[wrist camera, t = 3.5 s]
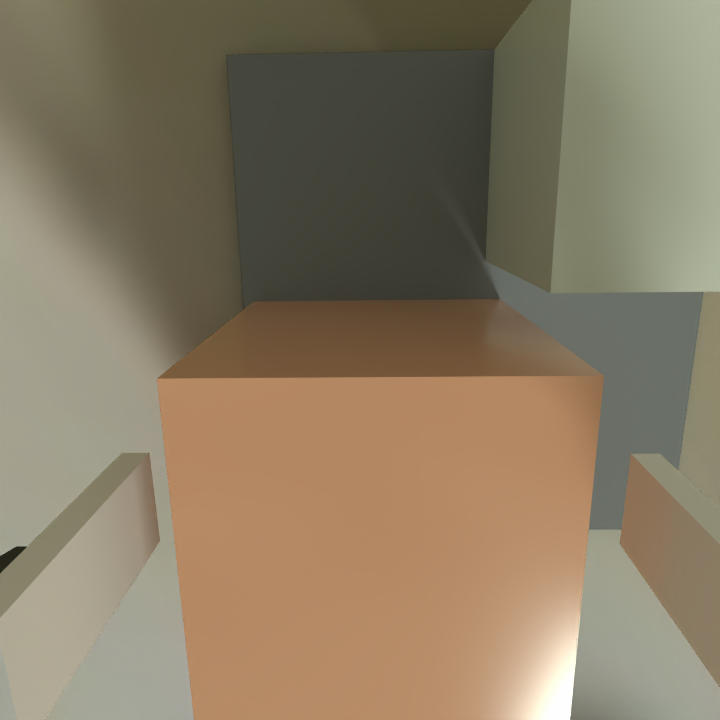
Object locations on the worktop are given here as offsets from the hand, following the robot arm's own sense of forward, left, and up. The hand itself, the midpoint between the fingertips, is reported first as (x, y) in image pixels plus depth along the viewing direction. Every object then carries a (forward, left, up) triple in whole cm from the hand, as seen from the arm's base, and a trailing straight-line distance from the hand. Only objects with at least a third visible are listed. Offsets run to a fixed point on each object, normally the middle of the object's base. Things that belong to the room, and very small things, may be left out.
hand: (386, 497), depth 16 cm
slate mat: (+3, +4, -8) cm, 9 cm away
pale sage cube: (+7, +9, -7) cm, 14 cm away
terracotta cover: (0, 0, -7) cm, 7 cm away
